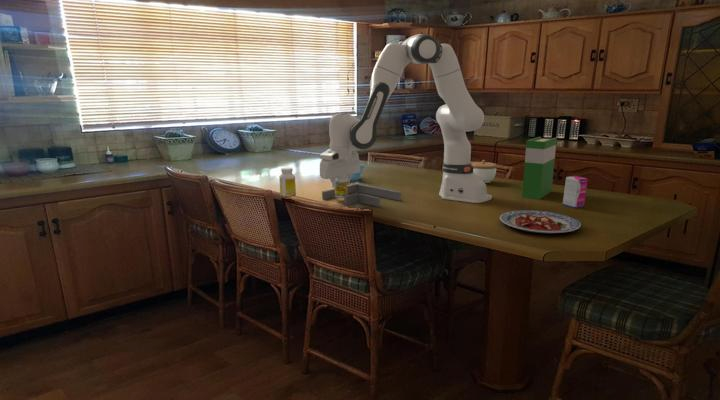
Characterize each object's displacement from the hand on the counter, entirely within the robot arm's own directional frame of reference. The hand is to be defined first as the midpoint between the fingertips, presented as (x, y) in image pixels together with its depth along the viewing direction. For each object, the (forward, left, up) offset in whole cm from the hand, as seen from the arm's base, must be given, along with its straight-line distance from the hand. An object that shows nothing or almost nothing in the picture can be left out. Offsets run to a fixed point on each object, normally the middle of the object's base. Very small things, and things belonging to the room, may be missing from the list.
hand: (341, 186), depth 195 cm
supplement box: (-74, -56, -6) cm, 93 cm away
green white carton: (-55, -66, -6) cm, 86 cm away
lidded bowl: (-25, -72, -6) cm, 76 cm away
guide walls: (-5, -6, -6) cm, 10 cm away
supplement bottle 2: (0, 0, -4) cm, 4 cm away
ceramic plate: (-75, -21, -6) cm, 78 cm away
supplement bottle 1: (+20, +12, -6) cm, 24 cm away
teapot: (+29, -33, -6) cm, 44 cm away
